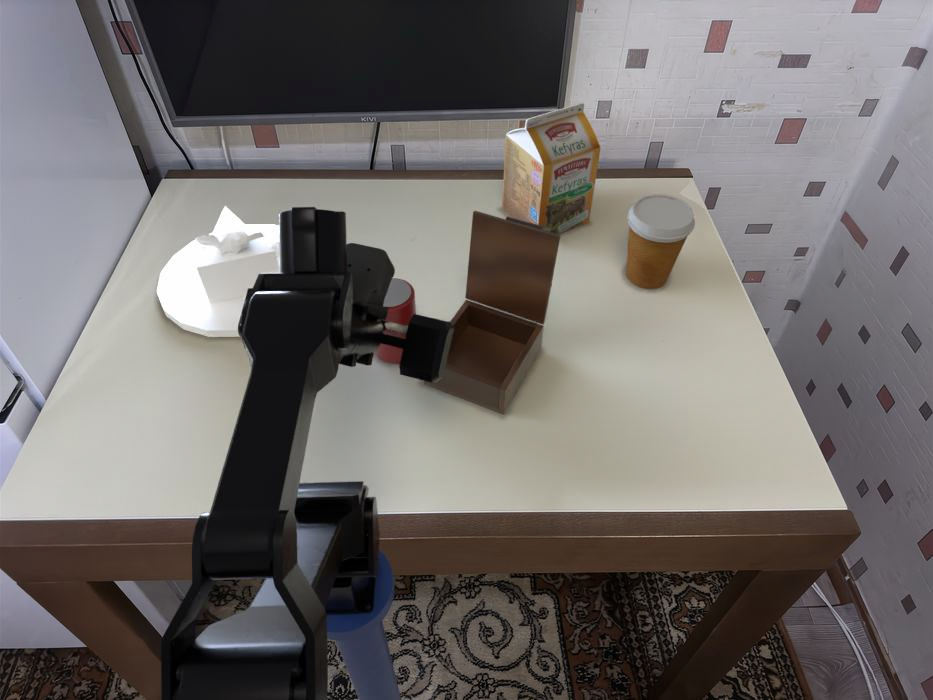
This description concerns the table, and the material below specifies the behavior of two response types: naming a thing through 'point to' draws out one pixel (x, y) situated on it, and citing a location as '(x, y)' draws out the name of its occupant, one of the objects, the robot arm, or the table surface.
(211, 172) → the table surface
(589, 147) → the milk carton
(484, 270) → the chest lid
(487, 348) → the chest
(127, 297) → the table surface
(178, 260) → the dish
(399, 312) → the can
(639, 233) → the disposable coffee cup
